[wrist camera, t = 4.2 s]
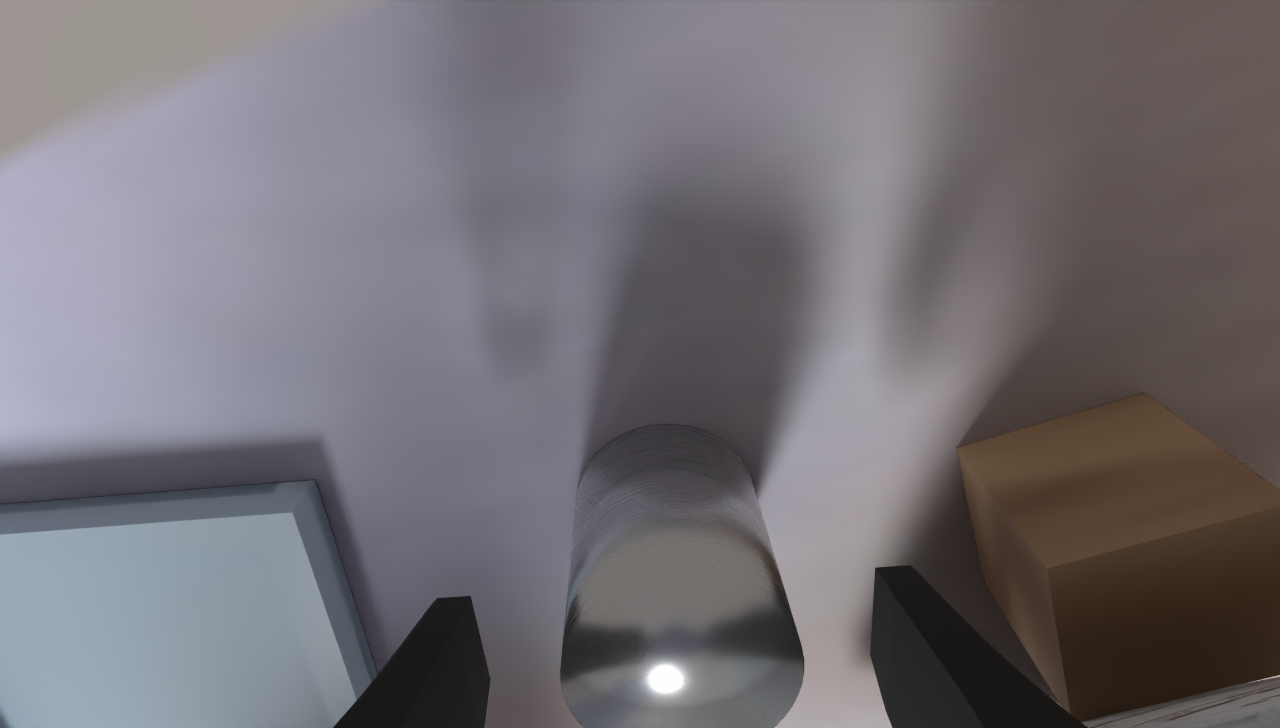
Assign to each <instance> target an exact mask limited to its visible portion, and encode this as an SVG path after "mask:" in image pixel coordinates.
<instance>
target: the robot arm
mask: <svg viewBox="0 0 1280 728" xmlns="http://www.w3.org/2000/svg"><path fill="white" fill-rule="evenodd" d="M870 655H871V659H872V662H873V666H874V670H875V674H876V677H877V681H878V685H879V688H880V692H881V695H882V699H883V702H884V706H885V709H886V712H887V715H888V717H889V720H890V722H891V725H892V727H893V728H1088V727H1087V726H1085V725H1084V724H1083V723H1081V722H1080V721H1079V720H1077V719H1076V718H1075V717H1073V716H1072V715H1071V714H1069V713H1068V712H1067V711H1066V710H1064V709H1063V708H1062V707H1061V706H1059V705H1058V704H1057V703H1056V702H1055V701H1053V700H1052V699H1051V698H1050V697H1049V696H1047V695H1046V694H1045V693H1044V692H1043V691H1041V690H1040V689H1039V688H1038V687H1037V686H1036V685H1034V684H1033V683H1032V682H1031V681H1030V680H1029V679H1027V678H1026V677H1025V676H1024V675H1023V674H1022V673H1021V672H1019V671H1018V670H1017V669H1016V668H1015V667H1014V666H1013V665H1012V664H1010V663H1009V662H1008V661H1007V660H1006V659H1005V658H1004V657H1003V656H1002V655H1001V654H1000V653H999V652H998V651H996V650H995V649H994V648H993V647H992V646H991V645H990V644H989V643H988V642H987V641H986V640H985V639H984V638H983V637H982V636H980V635H979V634H978V633H977V632H976V631H975V630H974V629H973V628H972V627H971V626H970V625H969V624H968V623H967V622H966V621H965V620H964V619H963V618H962V617H961V616H960V615H959V614H958V613H957V612H956V611H955V610H954V609H953V608H952V607H951V606H950V605H949V604H948V603H947V602H946V601H945V600H944V599H943V598H942V597H941V596H940V595H939V594H938V593H937V592H936V590H935V589H934V588H933V587H932V586H931V585H930V584H929V583H928V582H927V581H926V580H925V579H924V578H923V577H922V576H921V575H920V574H919V573H918V572H917V571H916V570H915V569H914V568H913V567H912V566H911V565H908V566H894V567H879V568H875V582H874V599H873V617H872V634H871V652H870ZM489 686H490V676H489V672H488V668H487V663H486V659H485V655H484V651H483V647H482V642H481V638H480V634H479V630H478V626H477V621H476V617H475V613H474V609H473V604H472V600H471V596H464V597H449V598H437V599H436V600H435V601H434V602H433V603H432V605H431V606H430V607H429V609H428V610H427V611H426V612H425V614H424V615H423V616H422V618H421V619H420V620H419V622H418V623H417V624H416V626H415V627H414V628H413V630H412V631H411V632H410V634H409V635H408V636H407V638H406V639H405V640H404V642H403V643H402V644H401V646H400V647H399V648H398V649H397V651H396V652H395V653H394V655H393V656H392V657H391V659H390V660H389V661H388V662H387V664H386V665H385V666H384V667H383V669H382V670H381V671H380V672H379V673H378V675H377V676H376V677H375V678H374V680H373V681H372V682H371V683H370V685H369V686H368V687H367V688H366V690H365V691H364V692H363V693H362V695H361V696H360V697H359V698H358V699H357V700H356V702H355V703H354V704H353V705H352V706H351V707H350V709H349V710H348V711H347V712H346V713H345V714H344V715H343V716H342V718H341V719H340V720H339V721H338V722H337V723H336V724H335V726H334V727H333V728H484V723H485V717H486V709H487V701H488V694H489Z"/></svg>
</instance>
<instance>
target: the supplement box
mask: <svg viewBox="0 0 1280 728" xmlns="http://www.w3.org/2000/svg"><path fill="white" fill-rule="evenodd" d="M1081 723H1083V724H1084V725H1085V726H1087V727H1088V728H1280V677H1276V678H1271V679H1265V680H1260V681H1254V682H1248V683H1243V684H1239V685H1235V686H1230V687H1226V688H1222V689H1218V690H1214V691H1209V692H1205V693H1201V694H1197V695H1193V696H1188V697H1184V698H1180V699H1176V700H1172V701H1167V702H1163V703H1159V704H1155V705H1151V706H1146V707H1142V708H1137V709H1133V710H1129V711H1124V712H1120V713H1116V714H1112V715H1108V716H1104V717H1100V718H1096V719H1092V720H1087V721H1083V722H1081Z"/></svg>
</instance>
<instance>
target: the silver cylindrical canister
mask: <svg viewBox="0 0 1280 728" xmlns="http://www.w3.org/2000/svg"><path fill="white" fill-rule="evenodd" d="M560 675H561V686H562V692H563V695H564V698H565V701H566V703H567V705H568V707H569V709H570V711H571V712H572V714H573V716H574V717H575V718H576V719H577V721H578V722H579V723H580V725H581V726H582V727H584V728H774V727H775V726H776V725H777V724H778V723H779V722H780V721H781V720H782V719H783V718H784V717H785V715H786V714H787V713H788V711H789V710H790V709H791V707H792V706H793V704H794V702H795V700H796V698H797V696H798V694H799V691H800V688H801V685H802V682H803V676H804V656H803V650H802V646H801V643H800V639H799V636H798V633H797V629H796V626H795V623H794V619H793V616H792V613H791V609H790V606H789V603H788V599H787V596H786V593H785V589H784V586H783V583H782V579H781V576H780V573H779V569H778V566H777V563H776V559H775V556H774V553H773V549H772V546H771V543H770V539H769V536H768V533H767V529H766V526H765V523H764V519H763V516H762V513H761V509H760V506H759V503H758V500H757V496H756V493H755V490H754V486H753V483H752V480H751V477H750V474H749V471H748V469H747V467H746V466H745V464H744V462H743V461H742V459H741V458H740V457H739V455H738V454H737V453H736V452H735V451H734V450H733V449H732V448H731V447H730V446H729V445H728V444H726V443H725V442H724V441H722V440H721V439H719V438H717V437H716V436H714V435H712V434H710V433H708V432H705V431H703V430H700V429H697V428H693V427H689V426H682V425H669V424H663V425H652V426H648V427H643V428H639V429H636V430H633V431H630V432H628V433H626V434H623V435H621V436H619V437H617V438H616V439H614V440H613V441H611V442H610V443H608V444H607V445H606V446H605V447H603V448H602V449H601V450H600V451H599V452H598V453H597V454H596V455H595V456H594V457H593V458H592V460H591V461H590V463H589V464H588V466H587V467H586V469H585V471H584V473H583V475H582V477H581V480H580V483H579V487H578V493H577V501H576V511H575V522H574V532H573V543H572V553H571V564H570V574H569V585H568V595H567V606H566V616H565V627H564V637H563V648H562V658H561V669H560Z"/></svg>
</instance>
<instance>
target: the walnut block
mask: <svg viewBox="0 0 1280 728" xmlns="http://www.w3.org/2000/svg"><path fill="white" fill-rule="evenodd" d="M956 450H957V455H958V460H959V465H960V469H961V474H962V479H963V484H964V488H965V493H966V498H967V503H968V507H969V512H970V517H971V522H972V526H973V531H974V536H975V541H976V545H977V550H978V555H979V560H980V564H981V569H982V574H983V579H984V583H985V585H986V586H987V588H988V590H989V591H990V593H991V594H992V596H993V598H994V599H995V601H996V603H997V604H998V606H999V607H1000V609H1001V611H1002V612H1003V614H1004V615H1005V617H1006V619H1007V620H1008V622H1009V623H1010V625H1011V627H1012V628H1013V630H1014V631H1015V633H1016V635H1017V636H1018V638H1019V639H1020V641H1021V643H1022V644H1023V646H1024V648H1025V649H1026V651H1027V652H1028V654H1029V656H1030V657H1031V659H1032V660H1033V662H1034V664H1035V665H1036V667H1037V668H1038V670H1039V672H1040V673H1041V675H1042V676H1043V678H1044V680H1045V681H1046V683H1047V684H1048V686H1049V688H1050V689H1051V691H1052V693H1053V694H1054V696H1055V697H1056V699H1057V701H1058V702H1059V704H1060V705H1061V707H1062V708H1063V709H1064V710H1066V711H1067V712H1068V713H1069V714H1071V715H1072V716H1073V717H1075V718H1076V719H1077V720H1079V721H1080V722H1083V721H1087V720H1092V719H1096V718H1100V717H1104V716H1108V715H1112V714H1116V713H1120V712H1124V711H1129V710H1133V709H1137V708H1142V707H1146V706H1151V705H1155V704H1159V703H1163V702H1167V701H1172V700H1176V699H1180V698H1184V697H1188V696H1193V695H1197V694H1201V693H1205V692H1209V691H1214V690H1218V689H1222V688H1226V687H1230V686H1235V685H1239V684H1243V683H1247V682H1252V681H1256V680H1260V679H1264V678H1268V677H1273V676H1277V675H1280V490H1279V489H1277V488H1276V487H1274V486H1273V485H1272V484H1270V483H1269V482H1268V481H1266V480H1265V479H1263V478H1262V477H1261V476H1259V475H1258V474H1257V473H1255V472H1254V471H1252V470H1251V469H1250V468H1248V467H1247V466H1245V465H1244V464H1243V463H1241V462H1240V461H1239V460H1237V459H1236V458H1234V457H1233V456H1232V455H1230V454H1229V453H1228V452H1226V451H1225V450H1223V449H1222V448H1221V447H1219V446H1218V445H1217V444H1215V443H1214V442H1212V441H1211V440H1210V439H1208V438H1207V437H1206V436H1204V435H1203V434H1201V433H1200V432H1199V431H1197V430H1196V429H1195V428H1193V427H1192V426H1190V425H1189V424H1188V423H1186V422H1185V421H1183V420H1182V419H1181V418H1179V417H1178V416H1177V415H1175V414H1174V413H1172V412H1171V411H1170V410H1168V409H1167V408H1166V407H1164V406H1163V405H1161V404H1160V403H1159V402H1157V401H1156V400H1155V399H1153V398H1152V397H1150V396H1149V395H1148V394H1146V393H1142V394H1139V395H1135V396H1132V397H1128V398H1125V399H1122V400H1118V401H1115V402H1111V403H1108V404H1105V405H1101V406H1098V407H1094V408H1091V409H1087V410H1084V411H1081V412H1077V413H1074V414H1070V415H1067V416H1064V417H1060V418H1057V419H1053V420H1050V421H1047V422H1043V423H1040V424H1036V425H1033V426H1029V427H1026V428H1023V429H1019V430H1016V431H1012V432H1009V433H1006V434H1002V435H999V436H995V437H992V438H988V439H985V440H982V441H978V442H975V443H971V444H968V445H965V446H961V447H958V448H956Z"/></svg>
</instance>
